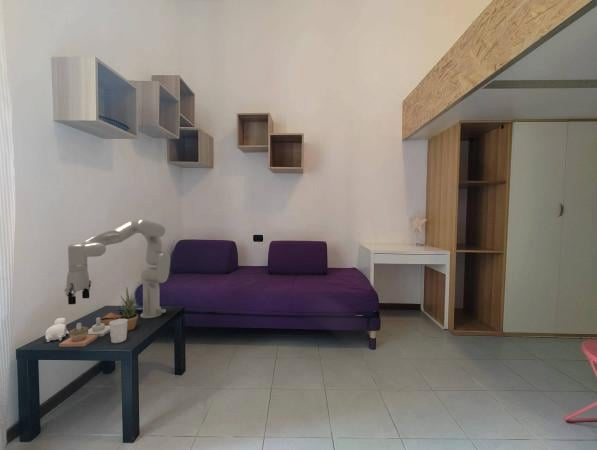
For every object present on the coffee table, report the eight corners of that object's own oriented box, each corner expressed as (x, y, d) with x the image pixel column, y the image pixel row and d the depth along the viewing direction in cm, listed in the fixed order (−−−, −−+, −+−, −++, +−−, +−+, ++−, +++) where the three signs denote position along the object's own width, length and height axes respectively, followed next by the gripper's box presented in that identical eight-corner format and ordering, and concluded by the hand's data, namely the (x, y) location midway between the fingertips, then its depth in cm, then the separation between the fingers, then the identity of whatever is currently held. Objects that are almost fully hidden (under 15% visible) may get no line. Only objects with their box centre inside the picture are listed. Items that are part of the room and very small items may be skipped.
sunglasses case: (109, 326, 161) (103, 317, 161) (98, 333, 160) (91, 323, 160) (123, 315, 179) (117, 307, 178) (113, 321, 178) (107, 313, 177)
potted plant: (123, 326, 162) (122, 284, 162) (140, 324, 164) (140, 284, 164) (115, 333, 153) (115, 289, 152) (134, 331, 155) (133, 288, 154)
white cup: (108, 344, 138) (107, 325, 138) (111, 338, 146) (111, 319, 145) (126, 342, 142) (126, 323, 141) (128, 336, 149) (128, 317, 149)
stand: (114, 328, 159) (114, 314, 159) (102, 336, 148) (102, 321, 148) (94, 328, 159) (94, 314, 158) (81, 336, 148) (80, 322, 147)
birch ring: (90, 332, 145) (90, 326, 145) (81, 338, 138) (81, 332, 138) (76, 332, 144) (76, 326, 144) (66, 338, 138) (66, 332, 137)
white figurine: (65, 344, 145) (71, 325, 157) (64, 332, 142) (70, 313, 154) (44, 348, 141) (52, 328, 153) (42, 335, 138) (50, 315, 150)
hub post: (97, 337, 147) (97, 319, 146) (84, 346, 137) (84, 326, 136) (74, 338, 146) (73, 319, 146) (59, 346, 136) (58, 326, 136)
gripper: (82, 265, 149) (83, 296, 149) (56, 271, 131) (58, 306, 132) (97, 264, 149) (97, 295, 150) (73, 271, 132) (74, 306, 133)
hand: (79, 301), depth 141 cm, fingers open, 9 cm apart
